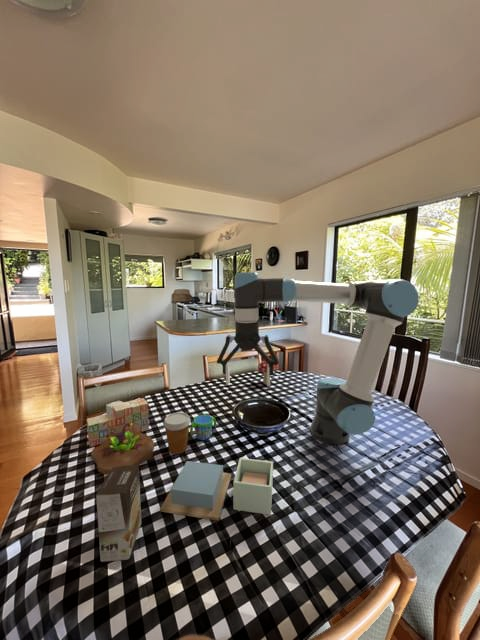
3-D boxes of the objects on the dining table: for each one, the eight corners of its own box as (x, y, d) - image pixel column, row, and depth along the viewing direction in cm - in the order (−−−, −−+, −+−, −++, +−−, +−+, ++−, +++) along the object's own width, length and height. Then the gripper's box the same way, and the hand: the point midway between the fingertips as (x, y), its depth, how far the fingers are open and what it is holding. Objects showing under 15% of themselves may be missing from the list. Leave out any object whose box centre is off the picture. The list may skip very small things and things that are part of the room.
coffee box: (130, 560, 57) (126, 494, 55) (99, 562, 57) (94, 495, 54) (142, 522, 66) (139, 464, 64) (116, 524, 66) (112, 465, 63)
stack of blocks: (89, 449, 95) (87, 418, 93) (88, 441, 100) (85, 411, 99) (149, 431, 107) (148, 402, 106) (145, 424, 112) (144, 397, 111)
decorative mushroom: (279, 385, 157) (280, 361, 155) (266, 389, 150) (266, 364, 148) (266, 380, 165) (267, 357, 163) (253, 384, 159) (254, 360, 157)
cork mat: (231, 475, 82) (231, 473, 82) (218, 520, 67) (218, 517, 67) (183, 469, 85) (183, 467, 85) (160, 511, 69) (160, 508, 69)
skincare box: (113, 424, 112) (112, 408, 111) (106, 420, 116) (105, 404, 115) (127, 419, 117) (126, 403, 116) (120, 414, 120) (119, 399, 119)
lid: (223, 477, 80) (222, 465, 80) (212, 509, 69) (212, 495, 68) (187, 473, 82) (186, 460, 82) (171, 503, 71) (171, 489, 70)
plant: (163, 456, 92) (162, 426, 91) (103, 483, 79) (101, 449, 78) (141, 432, 107) (140, 406, 105) (87, 452, 94) (85, 423, 92)
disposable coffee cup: (177, 460, 89) (176, 428, 88) (158, 451, 94) (157, 420, 93) (196, 446, 97) (195, 416, 96) (178, 438, 102) (177, 409, 101)
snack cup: (212, 428, 110) (211, 411, 109) (221, 437, 103) (220, 419, 102) (186, 436, 103) (186, 419, 102) (194, 446, 97) (193, 428, 96)
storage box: (272, 486, 78) (273, 461, 77) (270, 514, 68) (271, 487, 67) (239, 481, 80) (239, 457, 79) (233, 509, 70) (233, 482, 69)
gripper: (285, 319, 86) (285, 381, 89) (212, 319, 90) (214, 378, 93) (286, 322, 79) (286, 389, 82) (206, 322, 82) (208, 387, 85)
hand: (248, 384), depth 87 cm, fingers open, 13 cm apart
